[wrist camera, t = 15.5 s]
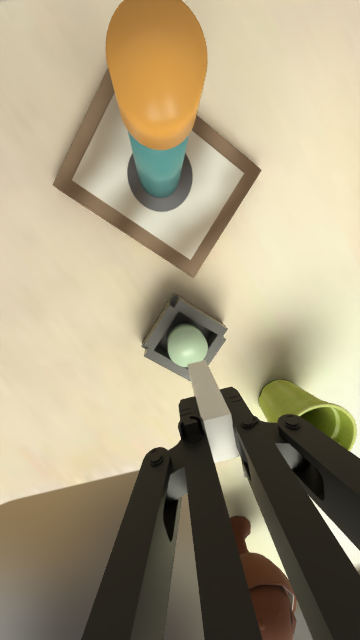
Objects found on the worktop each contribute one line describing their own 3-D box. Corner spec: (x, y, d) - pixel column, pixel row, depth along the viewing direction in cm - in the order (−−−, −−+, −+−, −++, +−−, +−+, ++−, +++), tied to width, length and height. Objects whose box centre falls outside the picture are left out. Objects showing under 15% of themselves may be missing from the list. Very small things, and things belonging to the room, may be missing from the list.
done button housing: (142, 343, 28) (139, 353, 25) (173, 293, 27) (175, 296, 24) (191, 370, 30) (195, 383, 26) (223, 324, 29) (231, 331, 25)
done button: (160, 345, 26) (160, 355, 23) (179, 316, 25) (181, 322, 22) (190, 362, 27) (193, 373, 24) (209, 333, 26) (215, 342, 23)
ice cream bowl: (254, 551, 40) (308, 712, 25) (198, 546, 38) (221, 716, 24) (273, 508, 38) (344, 658, 23) (215, 502, 36) (251, 658, 22)
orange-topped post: (128, 182, 22) (87, 70, 10) (151, 138, 22) (138, -41, 9) (166, 209, 23) (173, 139, 11) (189, 168, 23) (226, 43, 10)
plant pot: (292, 356, 31) (341, 389, 22) (315, 403, 33) (368, 448, 25) (237, 389, 31) (265, 433, 23) (264, 432, 34) (298, 487, 25)
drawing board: (58, 189, 23) (51, 183, 22) (119, 60, 21) (116, 45, 20) (192, 277, 27) (194, 277, 25) (256, 174, 25) (262, 168, 23)
